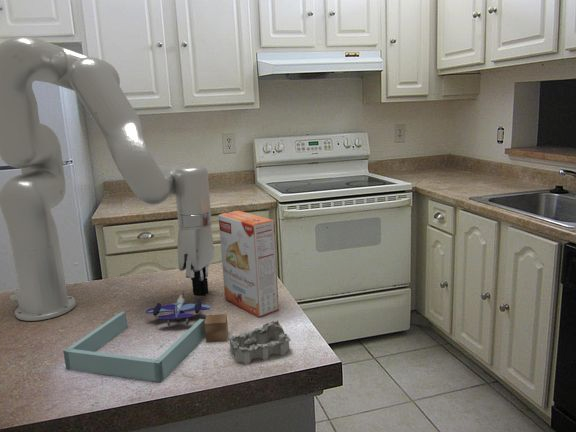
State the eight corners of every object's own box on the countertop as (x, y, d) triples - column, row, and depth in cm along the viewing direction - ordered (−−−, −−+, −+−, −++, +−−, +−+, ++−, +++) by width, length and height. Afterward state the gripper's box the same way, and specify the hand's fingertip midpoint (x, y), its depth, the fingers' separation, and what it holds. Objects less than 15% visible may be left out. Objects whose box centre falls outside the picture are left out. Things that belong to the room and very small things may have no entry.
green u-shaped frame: (66, 369, 85) (63, 351, 85) (123, 326, 101) (121, 311, 101) (160, 382, 80) (158, 363, 79) (205, 335, 96) (204, 319, 95)
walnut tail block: (206, 342, 93) (204, 323, 92) (208, 333, 97) (206, 315, 96) (226, 341, 93) (225, 322, 93) (228, 332, 97) (226, 313, 96)
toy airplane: (185, 299, 114) (184, 285, 114) (223, 315, 105) (221, 300, 104) (135, 318, 105) (133, 303, 104) (172, 338, 96) (170, 321, 95)
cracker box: (223, 300, 113) (216, 213, 109) (244, 293, 117) (239, 209, 112) (257, 318, 103) (252, 223, 98) (279, 310, 106) (275, 218, 102)
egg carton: (281, 338, 94) (280, 318, 93) (293, 356, 87) (293, 335, 86) (227, 348, 91) (226, 328, 90) (236, 367, 84) (234, 346, 83)
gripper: (194, 212, 118) (200, 282, 123) (163, 227, 105) (171, 306, 109) (222, 212, 116) (227, 284, 121) (194, 228, 102) (201, 308, 107)
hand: (200, 294), depth 115 cm, fingers closed
